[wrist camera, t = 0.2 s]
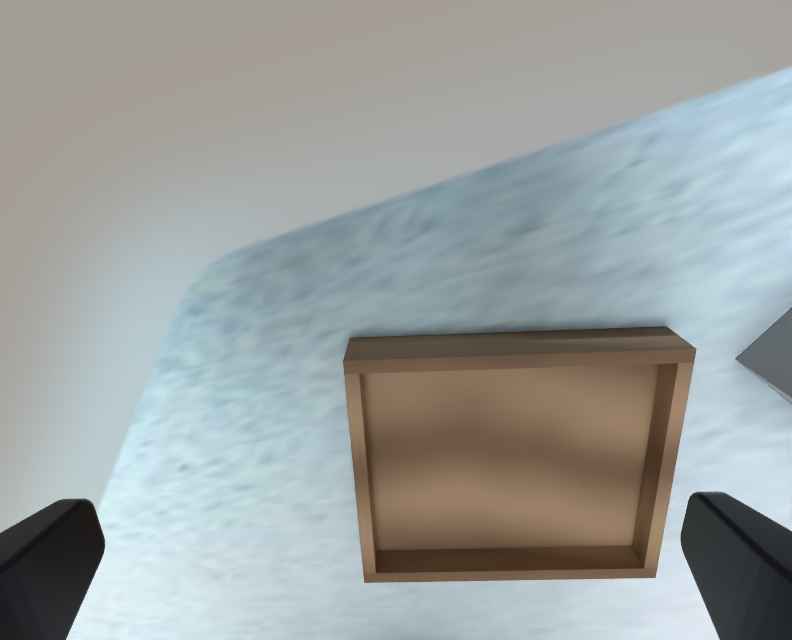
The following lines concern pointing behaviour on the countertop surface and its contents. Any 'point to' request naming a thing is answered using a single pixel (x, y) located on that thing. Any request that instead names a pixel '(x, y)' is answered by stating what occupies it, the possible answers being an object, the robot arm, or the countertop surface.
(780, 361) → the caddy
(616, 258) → the countertop surface
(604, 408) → the tray
